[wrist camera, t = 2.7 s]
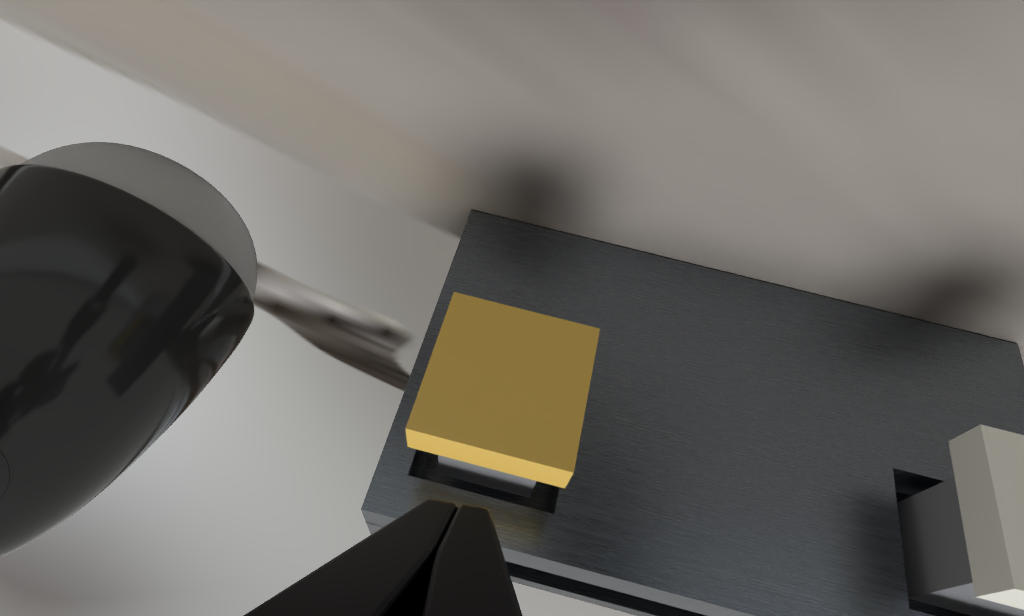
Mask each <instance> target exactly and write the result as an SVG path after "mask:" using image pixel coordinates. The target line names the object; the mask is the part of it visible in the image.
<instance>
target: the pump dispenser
mask: <svg viewBox="0 0 1024 616" xmlns="http://www.w3.org/2000/svg"><path fill="white" fill-rule="evenodd" d="M256 282H257V259H256V252H255V248H254V245H253V241H252V239H251V236H250V234H249V231H248V229H247V227H246V225H245V223H244V222H243V220H242V219H241V217H240V215H239V214H238V213H237V211H236V210H235V209H234V207H233V206H232V205H231V204H230V203H229V201H227V199H226V198H225V197H224V196H223V195H222V194H221V193H220V192H219V191H217V190H216V189H215V188H214V187H213V186H212V185H211V184H209V183H208V182H207V181H206V180H204V179H203V178H202V177H200V176H198V175H197V174H196V173H194V172H193V171H191V170H190V169H188V168H186V167H184V166H183V165H181V164H179V163H177V162H175V161H173V160H171V159H169V158H166V157H164V156H162V155H159V154H157V153H154V152H151V151H148V150H145V149H142V148H138V147H133V146H129V145H123V144H117V143H105V142H93V143H92V142H91V143H80V144H73V145H68V146H63V147H60V148H56V149H53V150H50V151H47V152H45V153H43V154H40V155H38V156H36V157H34V158H32V159H30V160H28V161H26V162H24V163H22V164H21V165H12V166H7V167H4V168H1V169H0V557H1V556H4V555H6V554H8V553H11V552H13V551H15V550H17V549H19V548H21V547H23V546H24V545H26V544H28V543H30V542H31V541H33V540H35V539H36V538H38V537H40V536H41V535H43V534H45V533H46V532H48V531H49V530H51V529H52V528H54V527H55V526H57V525H59V524H60V523H62V522H63V521H64V520H66V519H67V518H69V517H70V516H72V515H73V514H74V513H76V512H77V511H78V510H80V509H81V508H82V507H83V506H84V505H86V504H87V503H88V502H90V501H91V500H92V499H93V498H94V497H96V496H97V495H98V494H99V493H101V492H102V491H103V490H104V489H105V488H107V487H108V486H109V485H110V484H111V483H112V482H113V481H115V480H116V479H117V478H118V477H119V476H120V475H121V474H122V473H123V472H124V471H125V470H126V469H127V468H128V467H130V466H131V465H132V464H133V463H134V462H135V461H136V460H137V459H138V458H139V457H140V456H141V455H142V454H143V453H144V452H145V451H146V450H147V449H148V448H149V447H150V446H151V445H152V444H153V443H154V442H155V441H156V440H157V439H158V438H159V437H160V436H161V435H162V434H163V433H164V432H165V431H166V430H167V429H168V428H169V426H171V425H172V423H173V422H175V421H176V419H177V418H178V417H179V416H180V415H181V414H182V413H183V412H184V411H185V410H186V409H187V408H188V406H189V405H190V404H191V403H192V402H193V401H194V400H195V398H196V397H197V396H198V395H199V394H200V392H202V390H203V389H204V388H205V387H206V386H207V384H208V383H209V382H210V381H211V379H212V378H213V377H214V376H215V374H216V373H217V372H218V371H219V369H220V368H221V367H222V366H223V364H224V363H225V362H226V361H227V359H228V358H229V357H230V355H231V354H232V353H233V351H234V350H235V349H236V347H237V346H238V344H239V343H240V341H241V340H242V338H243V336H244V335H245V333H246V331H247V330H248V328H249V326H250V324H251V322H252V319H253V316H254V305H253V297H254V293H255V289H256Z"/></svg>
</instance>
